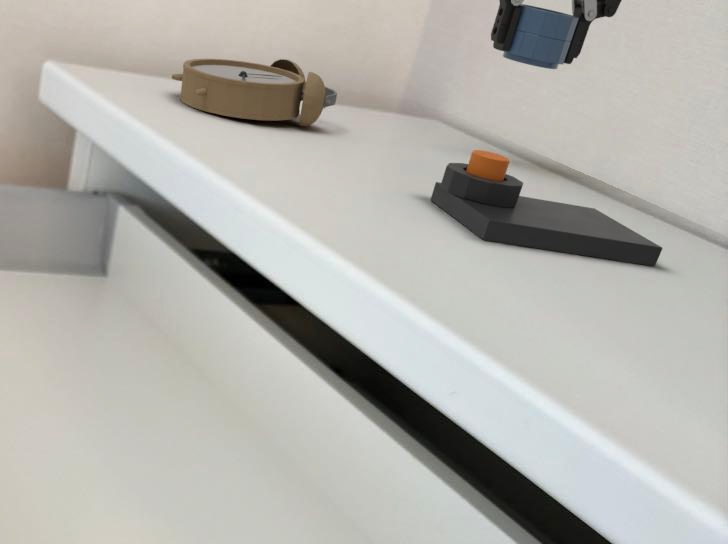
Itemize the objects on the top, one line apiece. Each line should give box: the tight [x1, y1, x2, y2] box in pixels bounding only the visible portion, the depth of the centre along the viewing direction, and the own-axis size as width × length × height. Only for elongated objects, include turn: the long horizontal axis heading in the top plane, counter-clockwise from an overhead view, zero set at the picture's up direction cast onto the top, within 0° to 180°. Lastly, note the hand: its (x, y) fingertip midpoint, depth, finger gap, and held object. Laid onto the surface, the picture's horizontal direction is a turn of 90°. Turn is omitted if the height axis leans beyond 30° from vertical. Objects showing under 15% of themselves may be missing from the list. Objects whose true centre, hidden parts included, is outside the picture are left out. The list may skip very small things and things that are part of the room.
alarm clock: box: [171, 58, 338, 127], centre depth 102 cm, size 11×5×15 cm
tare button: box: [466, 149, 511, 181], centre depth 81 cm, size 3×3×2 cm
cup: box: [502, 3, 579, 70], centre depth 101 cm, size 6×6×4 cm
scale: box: [430, 162, 663, 267], centre depth 81 cm, size 14×10×3 cm
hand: (532, 55), depth 102 cm, fingers closed on cup, 6 cm apart
